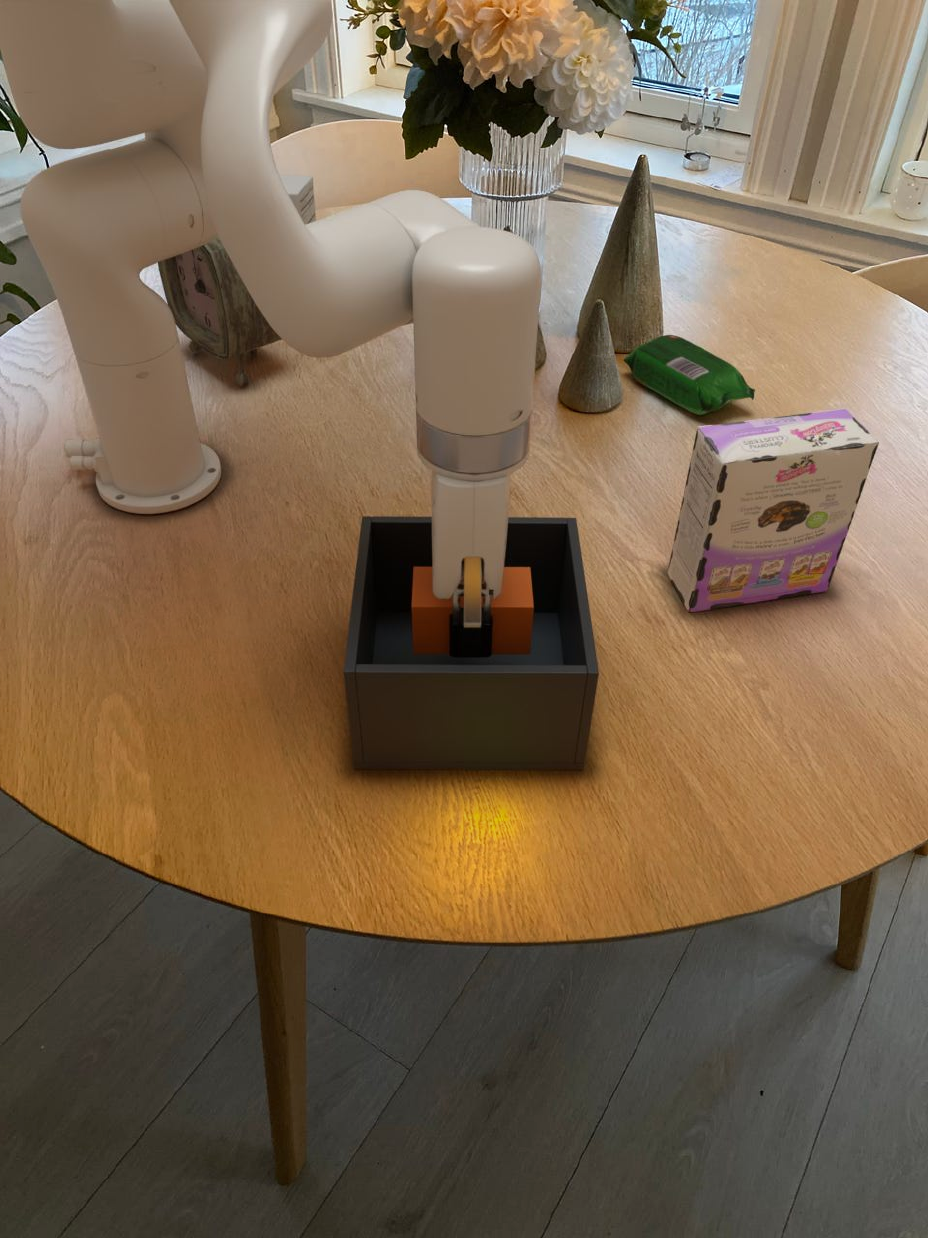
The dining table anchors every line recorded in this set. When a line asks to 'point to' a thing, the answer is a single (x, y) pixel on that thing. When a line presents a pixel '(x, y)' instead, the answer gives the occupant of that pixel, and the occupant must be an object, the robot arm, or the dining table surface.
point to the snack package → (687, 374)
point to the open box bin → (469, 661)
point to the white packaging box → (301, 195)
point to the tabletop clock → (214, 305)
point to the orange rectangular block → (506, 608)
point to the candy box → (768, 507)
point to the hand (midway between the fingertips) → (470, 628)
